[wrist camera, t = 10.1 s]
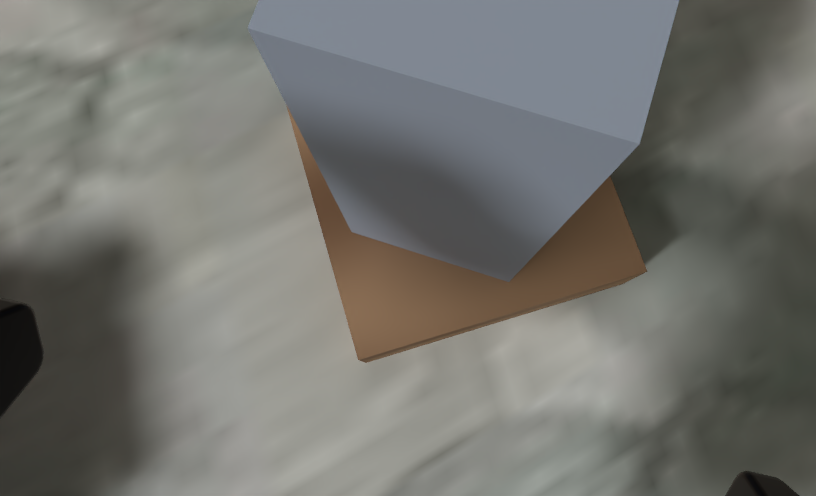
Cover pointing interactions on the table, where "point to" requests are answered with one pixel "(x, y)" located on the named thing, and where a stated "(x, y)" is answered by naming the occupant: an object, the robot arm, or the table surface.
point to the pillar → (465, 112)
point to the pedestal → (464, 274)
